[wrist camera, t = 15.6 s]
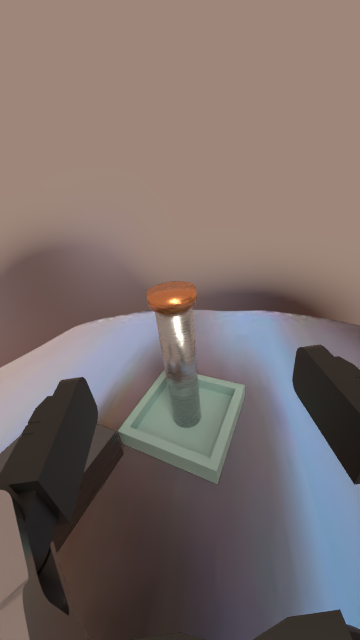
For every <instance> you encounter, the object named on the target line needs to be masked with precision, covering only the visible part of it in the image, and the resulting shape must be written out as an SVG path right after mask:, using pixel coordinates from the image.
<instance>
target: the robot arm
mask: <svg viewBox="0 0 360 640" xmlns="http://www.w3.org/2000/svg"><path fill="white" fill-rule="evenodd" d="M293 386H294V390H295V392H296V394H297V396H298V397H299V399H300V400H301V402H302V403H303V405H304V407H305V408H306V410H307V411H308V413H309V414H310V416H311V417H312V419H313V421H314V422H315V424H316V425H317V427H318V428H319V430H320V431H321V433H322V435H323V436H324V438H325V439H326V441H327V442H328V444H329V445H330V447H331V449H332V450H333V452H334V453H335V455H336V456H337V458H338V460H339V461H340V463H341V464H342V466H343V467H344V469H345V470H346V472H347V474H348V475H349V477H350V478H351V480H352V481H353V483H354V484H360V370H359V369H358V368H357V367H356V366H355V365H353V364H352V363H350V362H348V361H346V360H344V359H343V358H341V357H339V356H338V357H334V356H333V355H332V354H331V353H330V352H329V351H328V350H327V349H326V348H325V347H324V346H322V345H313V346H306V347H300V348H298V349H297V352H296V358H295V365H294V371H293ZM97 419H98V410H97V405H96V403H95V400H94V398H93V396H92V393H91V391H90V388H89V386H88V384H87V381H86V380H85V378H83V377H80V378H73V379H66V380H61V381H60V382H59V384H58V386H57V388H56V390H55V392H54V394H53V396H47V397H46V398H45V400H44V401H43V402H42V403H41V404H40V405H39V406H38V407H37V408H36V409H35V411H34V412H33V414H32V416H31V418H30V420H29V421H28V425H27V426H26V427H25V429H24V431H23V432H22V434H21V435H22V436H21V438H19V440H18V442H17V443H16V445H15V447H14V449H13V451H12V452H11V454H10V456H9V458H8V460H7V462H6V463H5V465H4V467H3V469H2V471H1V473H0V640H89V637H88V635H87V633H86V631H85V629H84V627H83V626H82V624H81V622H80V620H79V618H78V616H77V614H76V611H75V608H74V605H73V602H72V599H71V596H70V593H69V590H68V586H67V583H66V580H65V577H64V574H63V571H62V568H61V564H60V561H59V558H58V555H57V552H56V549H55V546H54V543H53V541H52V538H53V534H54V531H55V528H56V525H61V524H68V523H71V519H72V515H73V512H74V508H75V504H76V500H77V496H78V493H79V489H80V485H81V481H82V477H83V473H84V470H85V466H86V462H87V458H88V454H89V451H90V447H91V443H92V439H93V435H94V431H95V428H96V424H97ZM131 640H205V639H202V638H198V637H195V636H191V635H188V634H184V633H181V632H180V633H173V634H166V635H159V636H152V637H145V638H138V639H131ZM253 640H360V629H358V628H356V627H354V626H351V625H347V624H346V623H345V621H344V618H343V616H342V613H341V611H340V610H334V611H327V612H320V613H313V614H306V615H299V616H292V617H287V618H286V619H284V620H283V621H281V622H280V623H278V624H276V625H275V626H273V627H272V628H270V629H269V630H267V631H266V632H264V633H262V634H261V635H259V636H258V637H256V638H255V639H253Z"/></svg>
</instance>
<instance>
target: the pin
mask: <svg viewBox="0 0 360 640" xmlns="http://www.w3.org/2000/svg"><path fill="white" fill-rule="evenodd" d="M147 299H148V304H149V308H150V309H151V310H152V311H154V312H155V314H156V320H157V326H158V332H159V338H160V344H161V350H162V355H163V361H164V367H165V373H166V379H167V385H168V391H169V397H170V403H171V408H172V414H173V420H174V422H175V423H176V424H177V425H178V426H180V427H182V428H191V427H193V426H195V425H197V424H198V423H199V421H200V419H201V406H200V394H199V383H198V371H197V359H196V347H195V335H194V323H193V312H192V307H193V306H194V305H195V304H196V302H197V296H196V287H195V286H194V285H193V284H191V283H187V282H180V281H175V282H167V283H162V284H159V285H156V286H154V287H152V288H150V289H149V290H148V291H147Z"/></svg>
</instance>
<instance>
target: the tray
mask: <svg viewBox="0 0 360 640" xmlns="http://www.w3.org/2000/svg"><path fill="white" fill-rule="evenodd" d="M198 383H199V394H200V406H201V419H200V421H199V423H198V424H197V425H195V426H193V427H191V428H182V427H180V426H178V425H177V424H176V423H175V422H174V420H173V414H172V408H171V403H170V397H169V391H168V385H167V379H166V373H165V369H164V371H163V372H162V373H161V375H160V376H159V377H158V378H157V380H156V381H155V382H154V384H153V385H152V386H151V388H150V389H149V390H148V392H147V393H146V394H145V396H144V397H143V398H142V400H141V401H140V402H139V404H138V405H137V406H136V408H135V409H134V410H133V412H132V413H131V414H130V415H129V417H128V418H127V419H126V421H125V422H124V423H123V425H122V426H121V427H120V429H119V430H118V434H119V436H120V439H121V442H122V444H124V445H127V446H129V447H131V448H134V449H136V450H138V451H141V452H143V453H145V454H148V455H150V456H152V457H155V458H157V459H159V460H162V461H164V462H166V463H169V464H171V465H173V466H176V467H178V468H180V469H183V470H185V471H187V472H190V473H192V474H194V475H197V476H199V477H201V478H204V479H206V480H208V481H211V482H213V483H215V484H218V481H219V478H220V475H221V471H222V468H223V465H224V462H225V459H226V456H227V452H228V449H229V446H230V443H231V440H232V436H233V433H234V430H235V427H236V424H237V420H238V417H239V414H240V411H241V408H242V404H243V401H244V398H245V385H241V384H237V383H233V382H228V381H224V380H220V379H216V378H212V377H207V376H203V375H199V374H198Z"/></svg>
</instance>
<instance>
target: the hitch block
mask: <svg viewBox="0 0 360 640" xmlns="http://www.w3.org/2000/svg"><path fill="white" fill-rule="evenodd" d="M21 436H22V435H20V436H19V437H18V438H17V439H16V440H15V441H14V442H13V443H12V444H10V445H9V446H8V447H7V448H6V449H5V450H4V451H3V452H2V453H0V473H1V471H2V469H3V467H4V465H5V463H6V462H7V460H8V458H9V456H10V454H11V452H12V451H13V449H14V447H15V445H16V443H17V442H18V440H19V438H21ZM122 456H123V451H122V448H121V445H120V443H119V440H118V437H117V434H116V432H115V431H113V430H111V429H108V428H106V427H103V426H101V425H98V424H96V428H95V431H94V435H93V439H92V443H91V447H90V451H89V454H88V458H87V462H86V466H85V470H84V473H83V477H82V481H81V485H80V489H79V493H78V496H77V500H76V504H75V508H74V512H73V515H72V519H71V523H68V524H61V525H56V528H55V531H54V534H53V538H52V541H53V543H54V546H55V549H56V552H58V550H59V549H60V547H61V546H62V544H63V543H64V541H65V540H66V538H67V537H68V535H69V534H70V532H71V531H72V529H73V528H74V527H75V525H76V524H77V522H78V521H79V519H80V518H81V516H82V515H83V513H84V512H85V510H86V509H87V507H88V506H89V504H90V503H91V501H92V500H93V498H94V497H95V495H96V494H97V492H98V491H99V490H100V488H101V487H102V485H103V484H104V482H105V481H106V479H107V478H108V476H109V475H110V473H111V472H112V470H113V469H114V467H115V466H116V464H117V463H118V461H119V460H120V458H121V457H122Z"/></svg>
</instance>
